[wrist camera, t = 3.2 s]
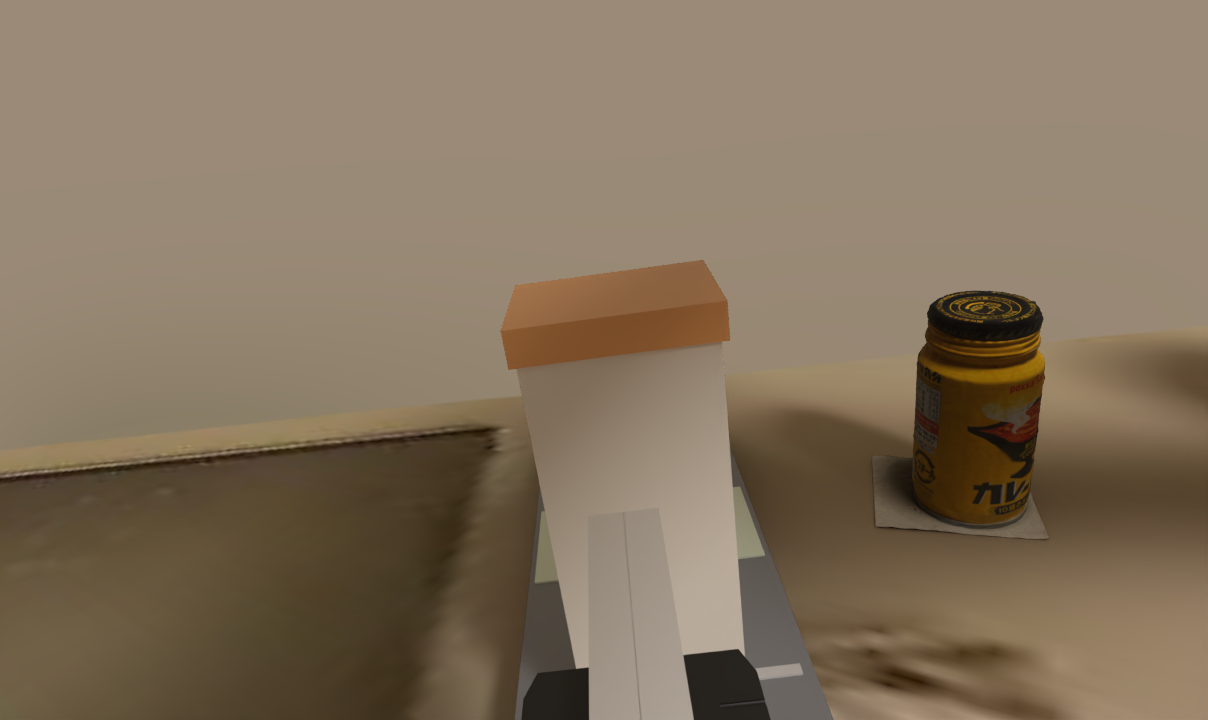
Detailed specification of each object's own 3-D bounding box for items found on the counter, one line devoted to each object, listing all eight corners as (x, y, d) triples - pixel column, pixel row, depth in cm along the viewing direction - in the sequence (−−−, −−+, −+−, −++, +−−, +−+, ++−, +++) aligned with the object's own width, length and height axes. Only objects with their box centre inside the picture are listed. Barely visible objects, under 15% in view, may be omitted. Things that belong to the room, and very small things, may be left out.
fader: (755, 716, 26) (727, 300, 20) (583, 736, 26) (500, 330, 20) (732, 628, 30) (702, 260, 24) (583, 646, 30) (514, 285, 24)
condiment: (1049, 541, 37) (1078, 328, 32) (875, 528, 40) (880, 330, 35) (1019, 466, 43) (1040, 279, 38) (871, 459, 46) (874, 284, 41)
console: (869, 873, 24) (870, 814, 22) (515, 911, 24) (498, 857, 23) (715, 435, 51) (712, 400, 50) (552, 456, 52) (546, 422, 50)
